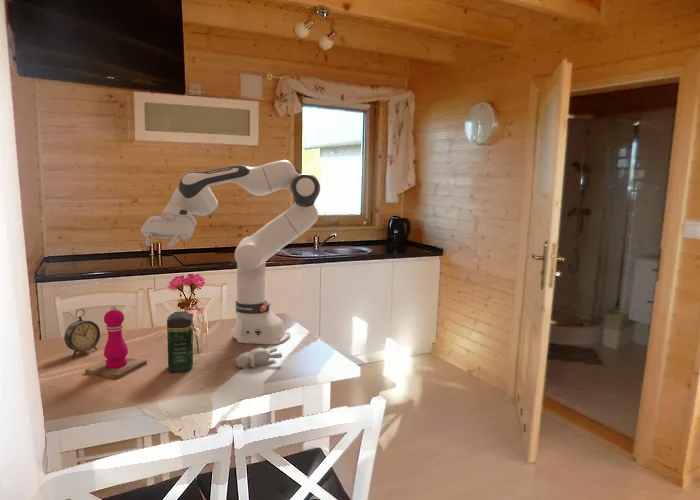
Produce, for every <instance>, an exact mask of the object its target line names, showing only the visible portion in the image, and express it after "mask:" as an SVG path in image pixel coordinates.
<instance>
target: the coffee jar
mask: <svg viewBox="0 0 700 500" xmlns="http://www.w3.org/2000/svg"><path fill="white" fill-rule="evenodd" d="M166 330H167V333H166V335H167V336H166V338H167V365H168V366H167V367H168V368H167V369H168V371H169V372H175V373H183V372H187V371H190V370H191V369H192V368H193V367H194V336H193V335H194V332H193V316H192V314H191V313H189V312H188V311H174V312H173V313H171V314H170V315H169V316H168V317H167V319H166Z"/></svg>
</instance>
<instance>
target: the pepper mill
mask: <svg viewBox="0 0 700 500" xmlns="http://www.w3.org/2000/svg"><path fill="white" fill-rule="evenodd" d="M124 320H125V315H124V313H123V312H122V311H121V310H119V309H118V308H117V305H112V306H111V307H110V310H108V311H107V312H105V314H104V316H103V322H104V323H105V325H106V326H105V328H106V331H107V341H106V344H105V345H104V349H103V356H104V357H105V360H106V366H107V367H108V368H120V367H123V366H125V365H126V364H127V358H128V357H127V355H128V354H129V349H128V345H127V343H126V341H125V340H124V337H123V331H122V330H124V324H123V322H124ZM126 357H127V358H126Z"/></svg>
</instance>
